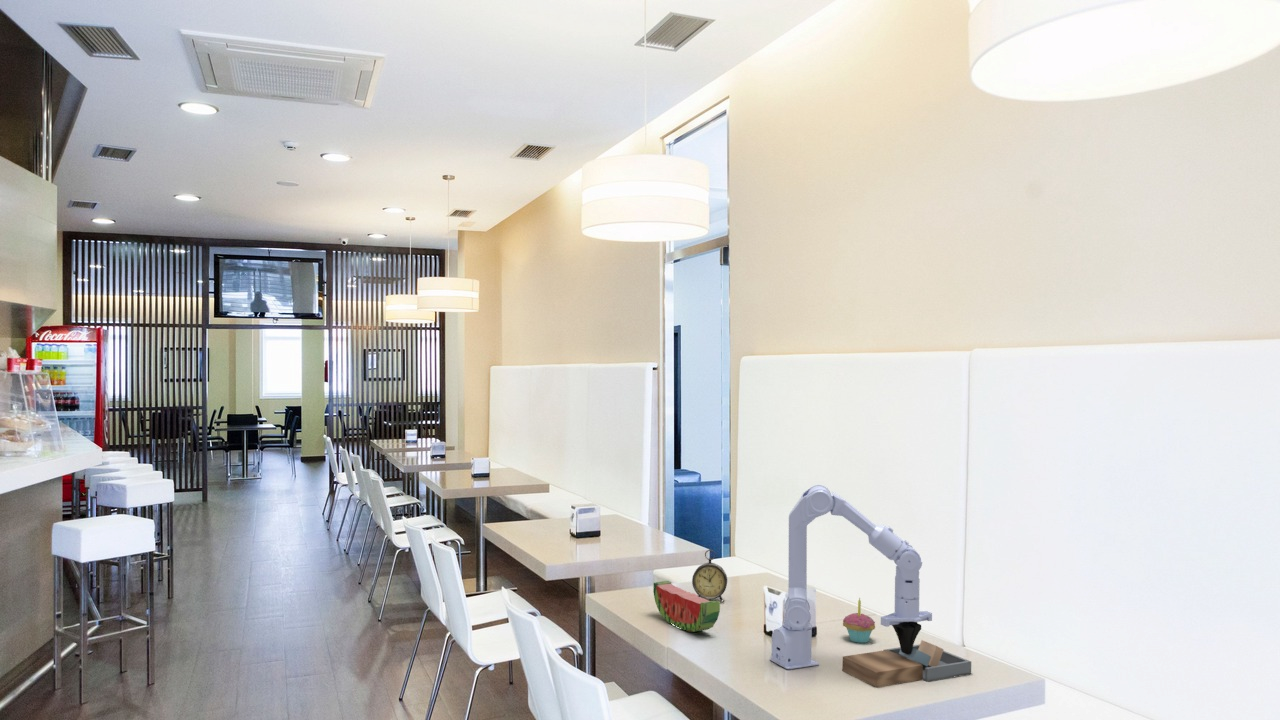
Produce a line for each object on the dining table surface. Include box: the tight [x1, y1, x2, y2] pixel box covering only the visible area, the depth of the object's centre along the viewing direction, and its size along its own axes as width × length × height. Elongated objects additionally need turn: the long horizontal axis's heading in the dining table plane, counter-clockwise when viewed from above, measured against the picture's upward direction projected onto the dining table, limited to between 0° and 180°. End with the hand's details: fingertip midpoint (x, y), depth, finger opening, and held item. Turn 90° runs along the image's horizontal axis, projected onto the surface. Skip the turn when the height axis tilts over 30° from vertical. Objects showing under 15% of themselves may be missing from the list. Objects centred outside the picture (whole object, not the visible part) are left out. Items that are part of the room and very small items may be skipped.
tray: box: [884, 643, 972, 682], centre depth 203 cm, size 14×15×3 cm
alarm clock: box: [691, 549, 728, 601], centre depth 263 cm, size 11×5×16 cm, turn 81°
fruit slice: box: [652, 580, 721, 633], centre depth 234 cm, size 26×6×10 cm, turn 31°
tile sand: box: [918, 639, 945, 667], centre depth 203 cm, size 5×5×3 cm
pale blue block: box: [899, 648, 931, 667], centre depth 202 cm, size 5×5×3 cm
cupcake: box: [842, 597, 876, 644], centre depth 225 cm, size 9×8×12 cm
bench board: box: [841, 649, 923, 688], centre depth 198 cm, size 14×12×3 cm
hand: (906, 652), depth 201 cm, fingers closed
